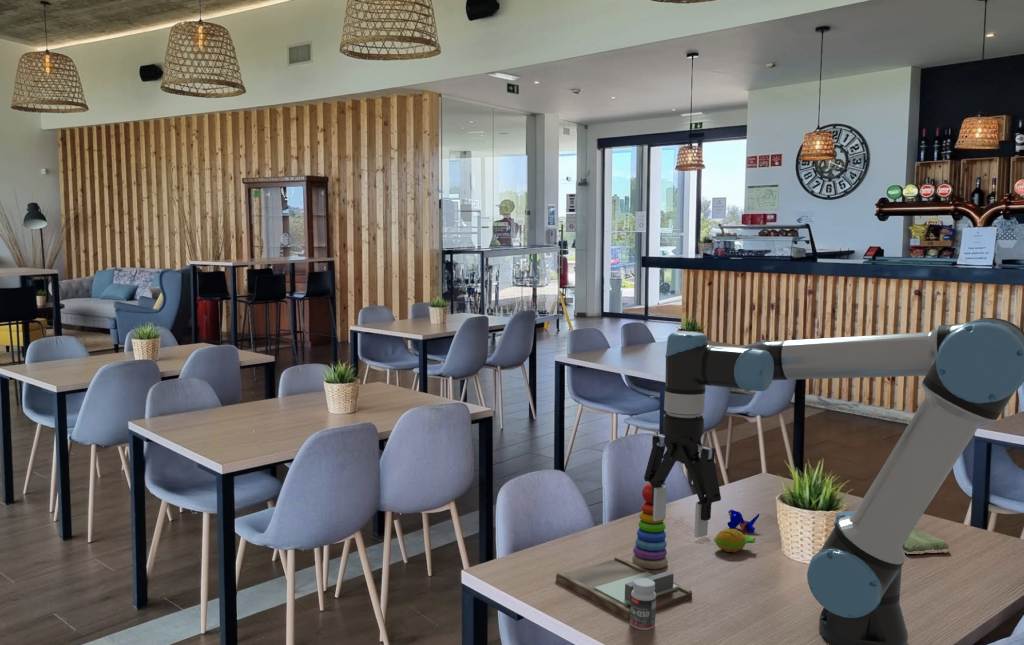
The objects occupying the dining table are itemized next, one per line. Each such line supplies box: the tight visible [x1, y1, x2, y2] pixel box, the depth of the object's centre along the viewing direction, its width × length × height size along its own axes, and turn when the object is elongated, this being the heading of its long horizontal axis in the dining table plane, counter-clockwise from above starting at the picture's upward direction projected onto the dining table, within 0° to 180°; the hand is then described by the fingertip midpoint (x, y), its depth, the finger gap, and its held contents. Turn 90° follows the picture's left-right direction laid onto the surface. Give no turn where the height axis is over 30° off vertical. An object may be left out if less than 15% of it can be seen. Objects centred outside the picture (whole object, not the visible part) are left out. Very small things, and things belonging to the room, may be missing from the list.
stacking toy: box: [631, 482, 669, 570], centre depth 184 cm, size 8×8×19 cm
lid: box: [594, 570, 678, 606], centre depth 167 cm, size 9×15×4 cm, turn 126°
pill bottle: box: [629, 578, 657, 631], centre depth 154 cm, size 5×5×8 cm
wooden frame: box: [555, 555, 693, 621], centre depth 170 cm, size 22×18×2 cm
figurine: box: [727, 509, 760, 533], centre depth 209 cm, size 5×8×5 cm, turn 62°
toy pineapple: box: [713, 528, 756, 553], centre depth 194 cm, size 7×10×5 cm
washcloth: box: [903, 527, 950, 552], centre depth 202 cm, size 13×18×3 cm
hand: (679, 527), depth 157 cm, fingers open, 10 cm apart
